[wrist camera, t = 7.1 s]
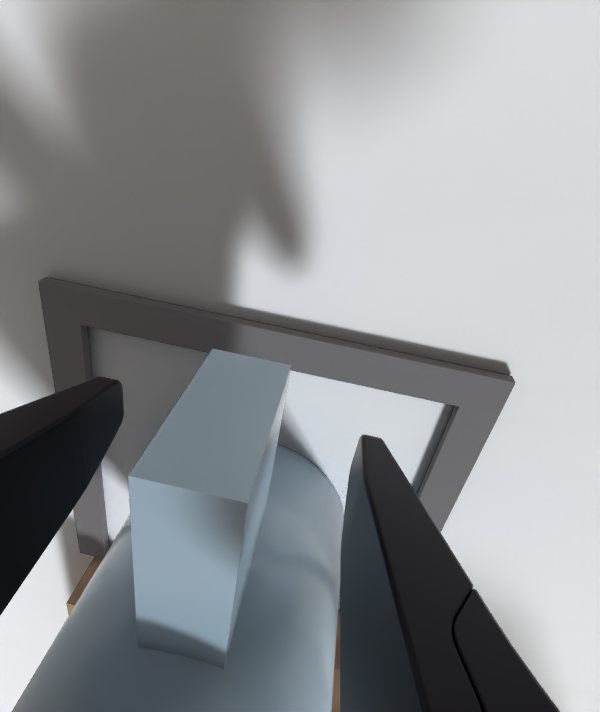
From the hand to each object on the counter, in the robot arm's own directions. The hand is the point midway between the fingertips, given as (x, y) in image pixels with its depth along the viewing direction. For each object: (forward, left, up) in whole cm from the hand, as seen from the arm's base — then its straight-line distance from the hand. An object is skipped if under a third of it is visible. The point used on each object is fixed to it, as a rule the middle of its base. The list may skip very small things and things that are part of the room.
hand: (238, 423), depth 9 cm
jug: (+4, 0, -3) cm, 5 cm away
